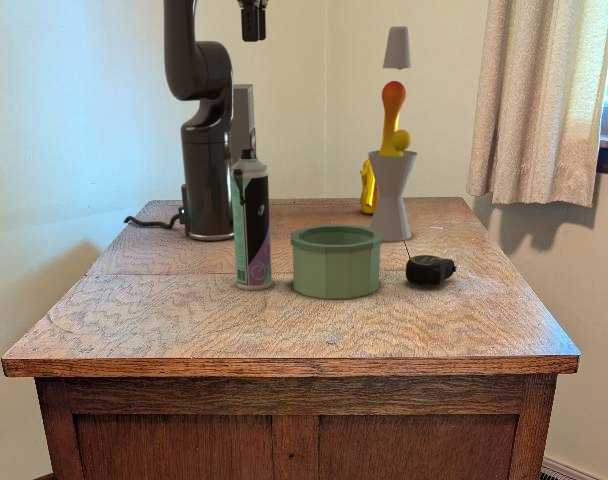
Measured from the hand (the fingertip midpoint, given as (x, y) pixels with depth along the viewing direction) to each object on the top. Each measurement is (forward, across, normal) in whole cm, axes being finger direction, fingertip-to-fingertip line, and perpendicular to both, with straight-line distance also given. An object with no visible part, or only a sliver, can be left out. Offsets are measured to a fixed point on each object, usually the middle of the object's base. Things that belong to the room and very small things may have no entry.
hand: (254, 41), depth 98 cm
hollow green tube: (+33, +3, +12) cm, 35 cm away
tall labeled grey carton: (+34, -50, -10) cm, 62 cm away
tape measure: (+33, +1, +27) cm, 43 cm away
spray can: (+34, +3, -1) cm, 34 cm away
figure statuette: (+34, -50, +20) cm, 64 cm away
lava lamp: (+34, -29, +21) cm, 49 cm away
